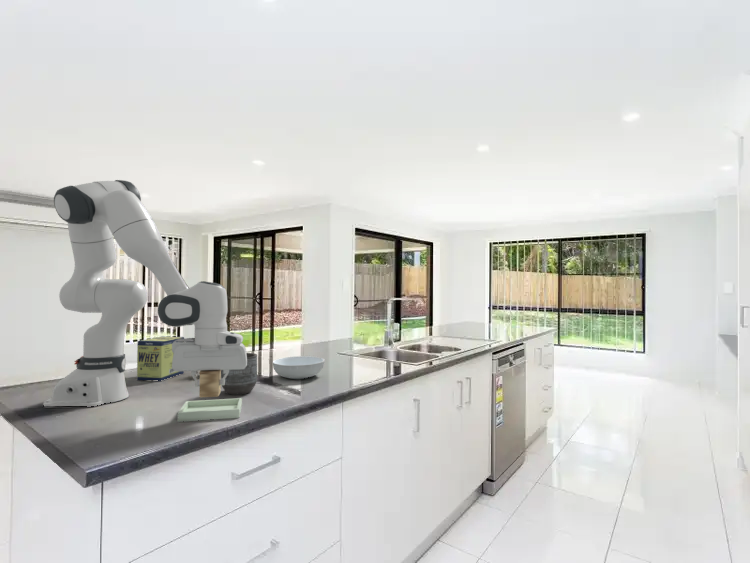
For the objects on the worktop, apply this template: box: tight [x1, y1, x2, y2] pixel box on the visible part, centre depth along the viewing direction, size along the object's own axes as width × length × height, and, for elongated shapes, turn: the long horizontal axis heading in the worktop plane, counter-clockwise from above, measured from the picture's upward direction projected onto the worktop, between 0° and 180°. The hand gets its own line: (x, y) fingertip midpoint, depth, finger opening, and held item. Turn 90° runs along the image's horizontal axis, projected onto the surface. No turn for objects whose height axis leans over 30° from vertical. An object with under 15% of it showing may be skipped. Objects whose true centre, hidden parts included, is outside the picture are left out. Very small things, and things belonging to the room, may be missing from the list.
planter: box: [221, 352, 258, 396], centre depth 146 cm, size 12×12×13 cm
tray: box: [177, 397, 243, 423], centre depth 121 cm, size 16×12×2 cm
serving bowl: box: [272, 355, 326, 380], centre depth 171 cm, size 21×21×7 cm
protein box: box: [136, 335, 185, 382], centre depth 169 cm, size 10×16×16 cm
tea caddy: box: [198, 370, 222, 398], centre depth 121 cm, size 5×5×7 cm
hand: (210, 385), depth 121 cm, fingers closed on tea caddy, 5 cm apart
